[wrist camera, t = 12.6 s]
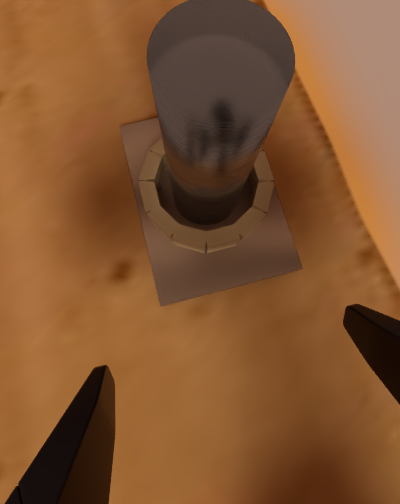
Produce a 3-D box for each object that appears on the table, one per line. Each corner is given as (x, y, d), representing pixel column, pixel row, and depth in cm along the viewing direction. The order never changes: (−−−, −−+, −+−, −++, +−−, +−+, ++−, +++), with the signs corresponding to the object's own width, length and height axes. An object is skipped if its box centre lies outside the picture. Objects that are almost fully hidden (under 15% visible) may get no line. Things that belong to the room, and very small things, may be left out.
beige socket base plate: (298, 270, 19) (315, 264, 16) (162, 306, 18) (155, 306, 16) (242, 104, 21) (249, 75, 19) (122, 133, 21) (110, 107, 18)
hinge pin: (247, 182, 19) (318, 31, 8) (219, 236, 18) (256, 147, 8) (192, 154, 19) (190, -26, 9) (162, 207, 19) (118, 80, 8)
